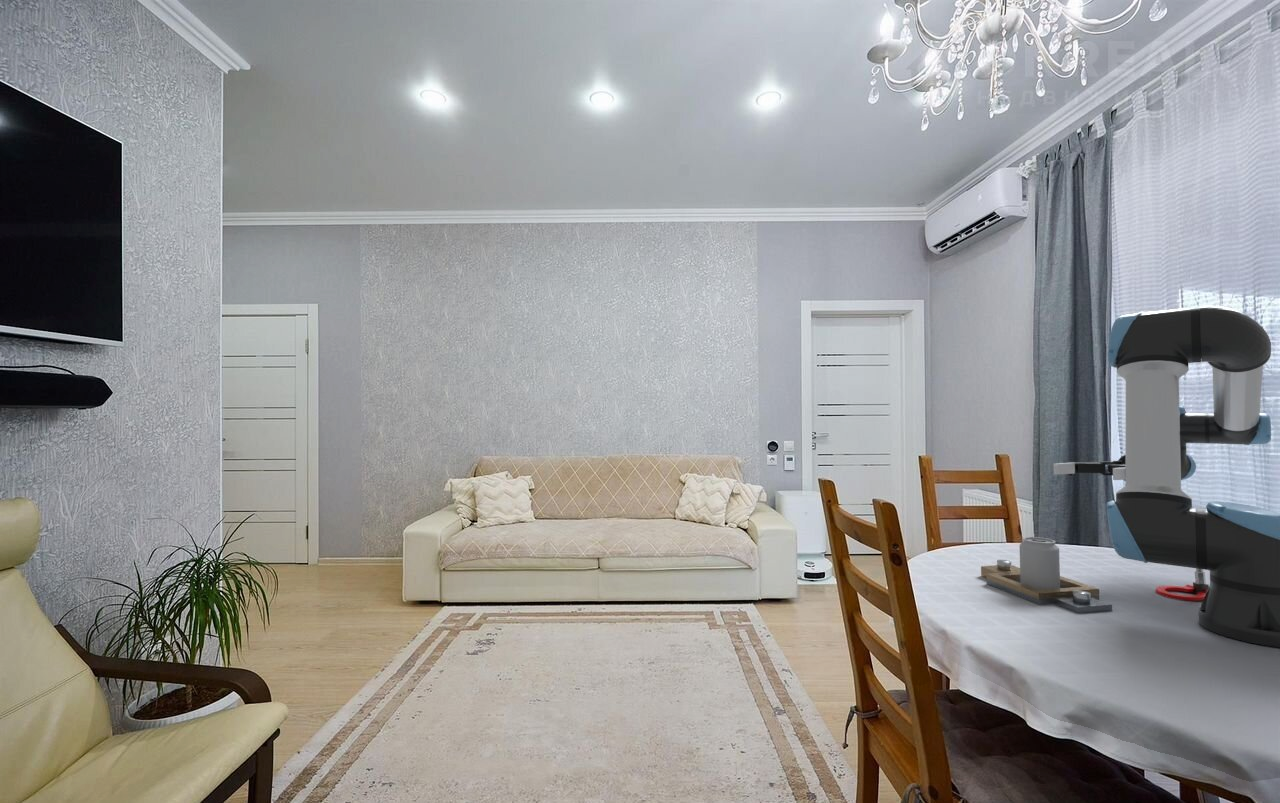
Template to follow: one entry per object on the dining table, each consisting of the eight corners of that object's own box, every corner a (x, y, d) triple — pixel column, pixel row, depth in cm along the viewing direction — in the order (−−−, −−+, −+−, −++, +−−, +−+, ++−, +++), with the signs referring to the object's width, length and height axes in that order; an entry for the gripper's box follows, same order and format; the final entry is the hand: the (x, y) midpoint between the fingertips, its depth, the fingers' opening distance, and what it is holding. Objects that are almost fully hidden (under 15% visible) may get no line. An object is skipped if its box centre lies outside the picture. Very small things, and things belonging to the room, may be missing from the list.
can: (1058, 589, 133) (1057, 537, 133) (1061, 598, 127) (1060, 544, 127) (1020, 584, 137) (1018, 534, 137) (1021, 593, 131) (1019, 540, 131)
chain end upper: (1099, 599, 125) (1098, 580, 125) (1038, 604, 123) (1038, 585, 123) (1021, 572, 146) (1021, 556, 146) (968, 576, 144) (968, 559, 144)
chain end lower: (1126, 609, 119) (1126, 594, 119) (1063, 614, 117) (1063, 599, 117) (1041, 579, 140) (1041, 567, 140) (986, 583, 138) (986, 571, 138)
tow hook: (1178, 603, 123) (1223, 601, 123) (1173, 543, 124) (1218, 541, 123) (1146, 591, 132) (1188, 589, 131) (1141, 535, 132) (1183, 532, 132)
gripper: (1204, 488, 133) (1143, 493, 126) (1089, 478, 157) (1033, 481, 150) (1203, 456, 134) (1142, 459, 127) (1089, 450, 157) (1032, 452, 150)
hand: (1083, 471), depth 138 cm, fingers open, 13 cm apart
